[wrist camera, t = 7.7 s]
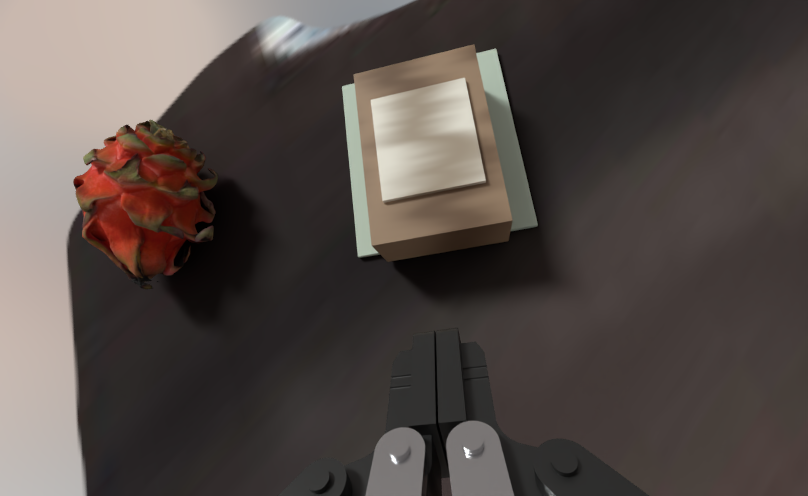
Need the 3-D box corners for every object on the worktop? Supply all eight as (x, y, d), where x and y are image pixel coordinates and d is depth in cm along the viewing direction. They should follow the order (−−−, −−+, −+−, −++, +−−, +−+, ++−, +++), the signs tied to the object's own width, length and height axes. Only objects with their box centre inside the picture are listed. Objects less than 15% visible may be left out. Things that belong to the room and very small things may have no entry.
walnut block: (508, 241, 25) (475, 85, 29) (512, 218, 21) (474, 40, 25) (387, 262, 27) (370, 110, 30) (370, 244, 23) (352, 71, 26)
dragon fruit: (217, 151, 34) (215, 290, 33) (96, 138, 31) (87, 294, 29) (219, 106, 27) (216, 284, 25) (58, 82, 23) (43, 288, 22)
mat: (495, 52, 30) (496, 48, 29) (537, 226, 26) (537, 224, 25) (343, 89, 32) (342, 86, 31) (359, 257, 28) (358, 256, 27)
